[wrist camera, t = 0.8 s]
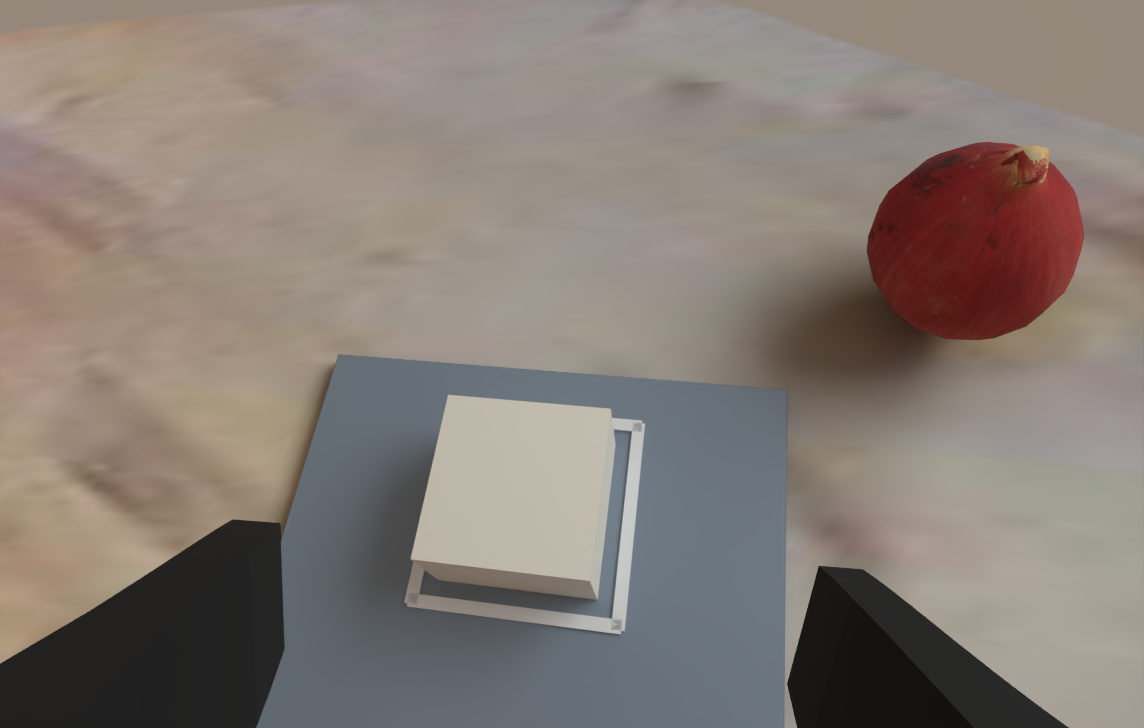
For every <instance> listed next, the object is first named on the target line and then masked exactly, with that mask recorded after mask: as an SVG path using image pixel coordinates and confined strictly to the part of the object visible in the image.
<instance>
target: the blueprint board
mask: <svg viewBox="0 0 1144 728" xmlns="http://www.w3.org/2000/svg"><path fill="white" fill-rule="evenodd" d="M786 456H787V390H782V389H770V388H757V387H744V386H732V385H719V384H706V383H694V382H681V381H668V380H656V379H643V378H631V377H618V376H605V375H593V374H580V373H567V372H555V371H542V370H529V369H517V368H504V367H491V366H479V365H466V364H453V363H441V362H428V361H416V360H403V359H390V358H378V357H365V356H352V355H340V354H338V357H337V361H336V364H335V367H334V370H333V374H332V377H331V380H330V383H329V387H328V390H327V393H326V396H325V400H324V403H323V406H322V409H321V413H320V416H319V419H318V422H317V426H316V429H315V432H314V435H313V439H312V442H311V445H310V448H309V452H308V455H307V458H306V461H305V464H304V468H303V471H302V474H301V477H300V481H299V484H298V487H297V490H296V494H295V497H294V500H293V503H292V507H291V510H290V513H289V516H288V520H287V523H286V526H285V529H284V533H283V536H282V539H281V558H282V587H283V615H284V644H285V650H284V652H283V655H282V658H281V661H280V664H279V667H278V670H277V673H276V675H275V678H274V681H273V684H272V687H271V690H270V693H269V695H268V698H267V701H266V703H265V706H264V709H263V711H262V714H261V717H260V719H259V722H258V724H257V727H256V728H784V693H785V575H786Z"/></svg>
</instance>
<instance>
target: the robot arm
mask: <svg viewBox="0 0 1144 728" xmlns="http://www.w3.org/2000/svg"><path fill="white" fill-rule="evenodd" d="M284 650H285V644H284V615H283V587H282V558H281V530H280V523H270V522H258V521H245V520H231V521H230V522H228V523H226V524H224V525H223V526H221V527H219V528H218V529H216V530H214V531H213V532H211V533H210V534H208V535H207V536H205V537H204V538H202V539H200V540H199V541H197V542H196V543H194V544H193V545H191V546H190V547H188V548H187V549H185V550H184V551H182V552H181V553H179V554H178V555H176V556H174V557H173V558H171V559H170V560H168V561H167V562H165V563H164V564H162V565H161V566H159V567H158V568H156V569H155V570H153V571H152V572H150V573H148V574H147V575H145V576H144V577H142V578H141V579H139V580H138V581H136V582H134V583H133V584H131V585H130V586H128V587H127V588H125V589H123V590H122V591H120V592H119V593H117V594H116V595H114V596H113V597H111V598H109V599H108V600H106V601H105V602H103V603H102V604H100V605H99V606H97V607H95V608H94V609H92V610H91V611H89V612H87V613H86V614H84V615H82V616H80V617H79V618H77V619H75V620H74V621H72V622H70V623H69V624H67V625H65V626H63V627H62V628H60V629H58V630H57V631H55V632H53V633H52V634H50V635H48V636H46V637H45V638H43V639H41V640H40V641H38V642H36V643H35V644H33V645H31V646H29V647H28V648H26V649H24V650H23V651H21V652H19V653H18V654H16V655H14V656H12V657H11V658H9V659H7V660H6V661H4V662H2V663H1V664H0V728H256V727H257V724H258V722H259V719H260V717H261V714H262V711H263V709H264V706H265V703H266V701H267V698H268V695H269V693H270V690H271V687H272V684H273V681H274V678H275V675H276V673H277V670H278V667H279V664H280V661H281V658H282V655H283V652H284ZM787 685H788V689H789V694H790V698H791V702H792V707H793V711H794V716H795V720H796V724H797V728H1068V727H1067V726H1066V725H1064V724H1063V723H1061V722H1060V721H1059V720H1057V719H1056V718H1054V717H1053V716H1052V715H1050V714H1049V713H1048V712H1046V711H1045V710H1043V709H1042V708H1041V707H1039V706H1038V705H1037V704H1035V703H1034V702H1033V701H1031V700H1030V699H1029V698H1027V697H1026V696H1025V695H1023V694H1022V693H1021V692H1019V691H1018V690H1017V689H1016V688H1014V687H1013V686H1012V685H1010V684H1009V683H1008V682H1006V681H1005V680H1004V679H1003V678H1001V677H1000V676H999V675H997V674H996V673H995V672H993V671H992V670H991V669H990V668H988V667H987V666H986V665H985V664H983V663H982V662H981V661H980V660H978V659H977V658H976V657H974V656H973V655H972V654H971V653H969V652H968V651H967V650H966V649H964V648H963V647H962V646H961V645H959V644H958V643H957V642H956V641H954V640H953V639H952V638H951V637H949V636H948V635H947V634H946V633H944V632H943V631H942V630H941V629H939V628H938V627H937V626H936V625H934V624H933V623H932V622H931V621H929V620H928V619H927V618H926V617H925V616H923V615H922V614H921V613H920V612H918V611H917V610H916V609H915V608H913V607H912V606H911V605H910V604H908V603H907V602H906V601H904V600H903V599H902V598H901V597H899V596H898V595H897V594H896V593H894V592H893V591H892V590H890V589H889V588H888V587H887V586H885V585H884V584H883V583H881V582H880V581H878V580H877V579H876V578H874V577H873V576H871V575H870V574H869V573H867V572H866V571H864V570H863V569H851V568H838V567H826V566H819V567H818V571H817V575H816V579H815V582H814V586H813V590H812V593H811V597H810V601H809V605H808V608H807V612H806V616H805V620H804V623H803V627H802V631H801V635H800V638H799V642H798V646H797V649H796V653H795V657H794V661H793V664H792V668H791V672H790V676H789V679H788V683H787Z"/></svg>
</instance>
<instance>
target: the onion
mask: <svg viewBox="0 0 1144 728" xmlns="http://www.w3.org/2000/svg"><path fill="white" fill-rule="evenodd" d="M1048 153H1049V149H1047V148H1045V147H1043V146H1022V147H1019V146H1016V145H1013V144H1005V143H992V142H982V143H975V144H970V145H967V146H963V147H960V148H957V149H953V150H950V151H947V152H943V153H940V154H938V155H936V156H933V157H931V158H929V159H927V160H926V161H925V162H923V163H922V164H921V165H920V166H919V167H917V168H916V169H915V170H914V171H912V172H911V173H910V174H909V175H908V176H906V177H905V178H904V179H903V180H901V181H900V182H899V183H898V184H897V185H895V186H894V187H893V188H892V189H890V190H889V191H888V193H887V194H886V196H885V198H884V199H883V201H882V202H881V204H880V206H879V209H878V211H877V214H876V217H875V220H874V222H873V225H872V228H871V230H870V233H869V236H868V245H867V254H868V259H869V263H870V267H871V272H872V276H873V281H874V282H875V284H876V285H877V287H878V288H879V290H880V291H881V293H882V294H883V295H884V297H885V298H886V300H887V301H888V303H889V304H890V306H891V307H892V309H893V310H894V312H895V313H897V314H898V315H899V316H901V317H902V318H903V319H905V320H906V321H907V322H909V323H910V324H911V325H913V326H914V327H915V328H917V329H918V330H921V331H924V332H927V333H930V334H933V335H936V336H939V337H942V338H945V339H963V340H982V339H991V338H995V337H998V336H1001V335H1004V334H1006V333H1009V332H1012V331H1015V330H1017V329H1020V328H1023V327H1026V326H1027V325H1028V324H1030V323H1031V322H1032V321H1033V320H1035V319H1036V318H1037V317H1038V316H1040V315H1041V314H1042V313H1043V312H1044V311H1045V310H1046V309H1047V308H1048V307H1049V306H1050V305H1051V304H1053V303H1054V302H1055V301H1056V300H1057V299H1058V298H1059V297H1060V296H1061V295H1062V294H1063V293H1064V292H1065V290H1066V288H1067V286H1068V285H1069V283H1070V281H1071V279H1072V277H1073V275H1074V272H1075V268H1076V265H1077V262H1078V259H1079V256H1080V252H1081V249H1082V244H1083V239H1084V230H1083V224H1082V219H1081V215H1080V210H1079V205H1078V201H1077V197H1076V194H1075V191H1074V189H1073V188H1072V187H1071V185H1070V184H1069V183H1068V181H1067V180H1066V179H1065V178H1064V176H1063V175H1062V174H1061V173H1060V171H1059V170H1058V169H1057V168H1056V167H1055V166H1054V165H1053V164H1052V163H1050V162H1049V157H1048Z"/></svg>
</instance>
